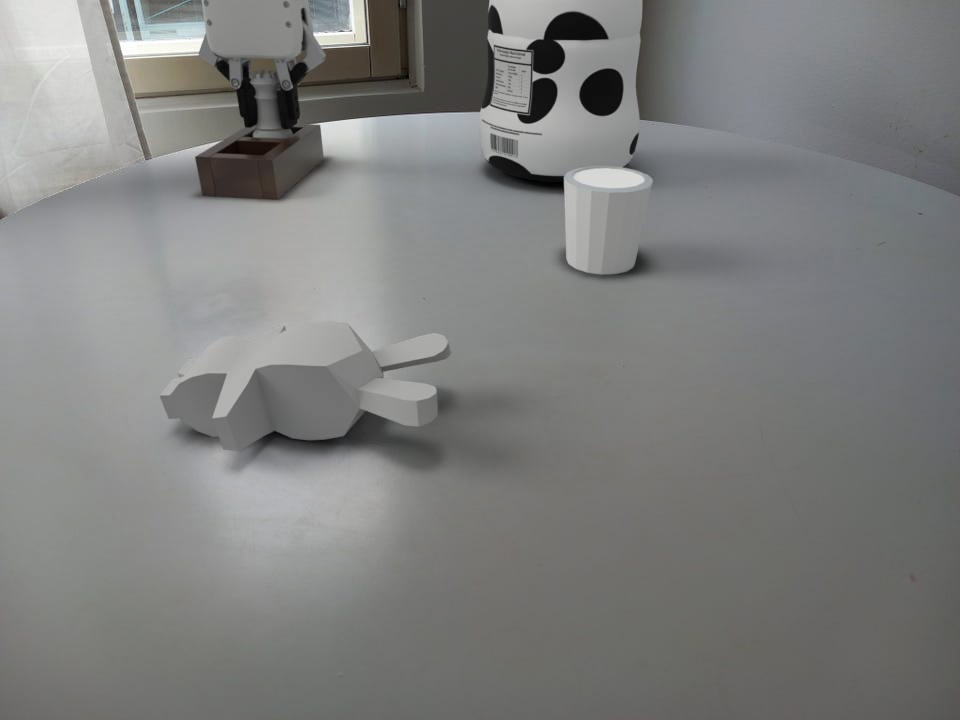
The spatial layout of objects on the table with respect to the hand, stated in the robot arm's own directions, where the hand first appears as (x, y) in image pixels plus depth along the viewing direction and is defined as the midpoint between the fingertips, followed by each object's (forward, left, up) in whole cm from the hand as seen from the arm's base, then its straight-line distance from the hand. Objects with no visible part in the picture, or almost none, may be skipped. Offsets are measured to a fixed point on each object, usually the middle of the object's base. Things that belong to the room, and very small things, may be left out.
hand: (271, 123), depth 81 cm
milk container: (+31, +4, -5) cm, 32 cm away
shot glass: (+36, -21, -5) cm, 42 cm away
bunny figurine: (+20, -46, -5) cm, 51 cm away
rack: (0, -3, -5) cm, 6 cm away
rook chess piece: (0, 0, -3) cm, 3 cm away
